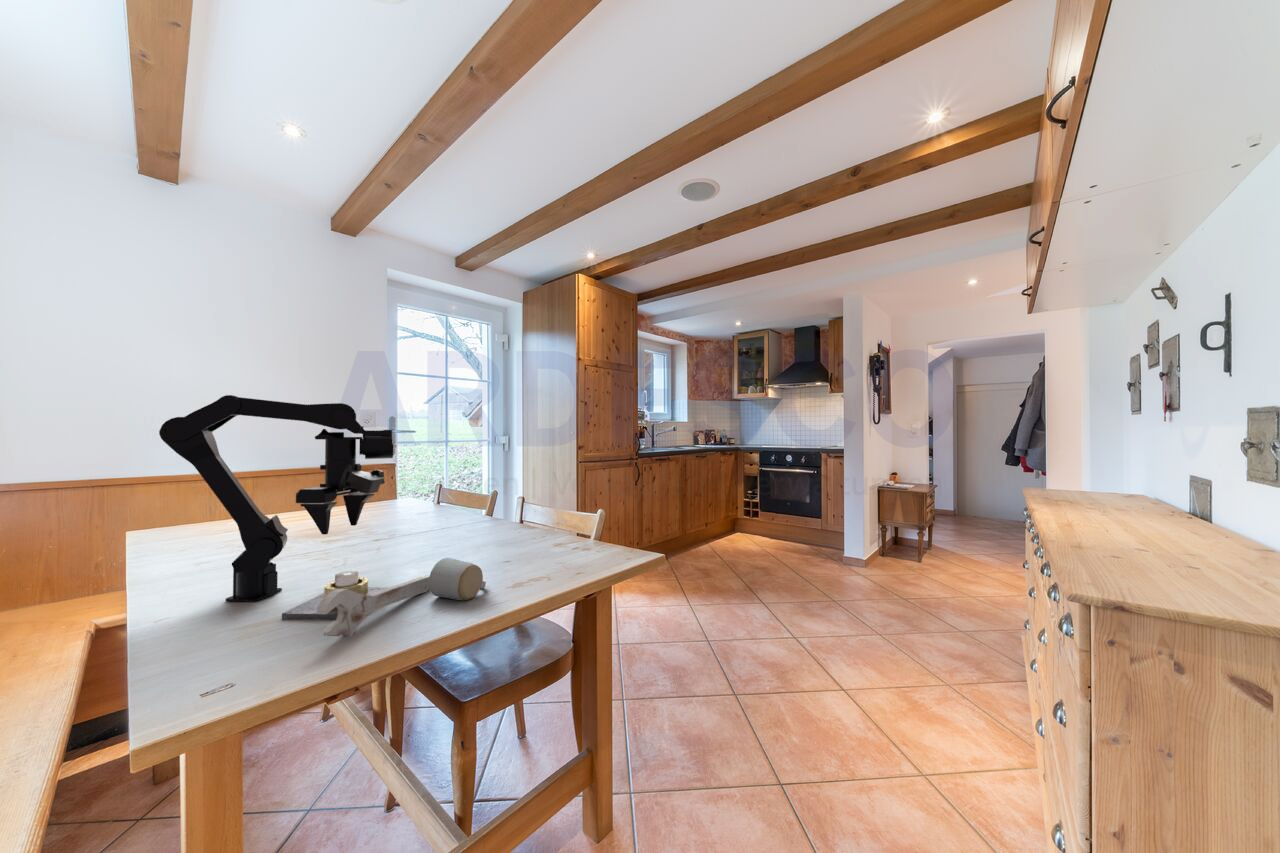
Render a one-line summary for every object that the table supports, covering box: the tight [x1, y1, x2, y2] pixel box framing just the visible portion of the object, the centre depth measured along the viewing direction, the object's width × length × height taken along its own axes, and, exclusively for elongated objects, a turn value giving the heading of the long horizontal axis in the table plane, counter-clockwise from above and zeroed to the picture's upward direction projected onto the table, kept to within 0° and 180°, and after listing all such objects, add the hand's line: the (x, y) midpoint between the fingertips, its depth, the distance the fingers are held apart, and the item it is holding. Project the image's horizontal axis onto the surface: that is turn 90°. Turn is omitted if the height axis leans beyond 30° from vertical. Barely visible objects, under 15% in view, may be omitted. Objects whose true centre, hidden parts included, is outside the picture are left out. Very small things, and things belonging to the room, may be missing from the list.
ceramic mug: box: [429, 557, 487, 601], centre depth 92 cm, size 11×8×8 cm
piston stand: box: [281, 570, 391, 621], centre depth 87 cm, size 14×14×6 cm
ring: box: [323, 576, 369, 597], centre depth 87 cm, size 7×7×2 cm
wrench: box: [317, 574, 430, 637], centre depth 83 cm, size 8×2×30 cm
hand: (339, 529), depth 100 cm, fingers open, 9 cm apart
